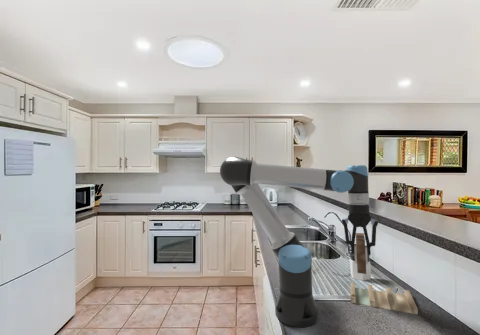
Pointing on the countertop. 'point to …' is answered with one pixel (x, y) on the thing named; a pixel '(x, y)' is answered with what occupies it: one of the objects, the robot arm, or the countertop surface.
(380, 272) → the countertop surface
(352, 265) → the jar
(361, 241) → the wooden block
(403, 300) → the slotted rack
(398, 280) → the countertop surface
